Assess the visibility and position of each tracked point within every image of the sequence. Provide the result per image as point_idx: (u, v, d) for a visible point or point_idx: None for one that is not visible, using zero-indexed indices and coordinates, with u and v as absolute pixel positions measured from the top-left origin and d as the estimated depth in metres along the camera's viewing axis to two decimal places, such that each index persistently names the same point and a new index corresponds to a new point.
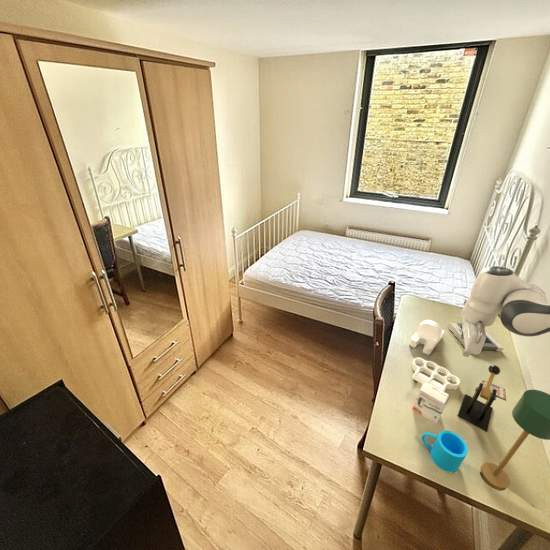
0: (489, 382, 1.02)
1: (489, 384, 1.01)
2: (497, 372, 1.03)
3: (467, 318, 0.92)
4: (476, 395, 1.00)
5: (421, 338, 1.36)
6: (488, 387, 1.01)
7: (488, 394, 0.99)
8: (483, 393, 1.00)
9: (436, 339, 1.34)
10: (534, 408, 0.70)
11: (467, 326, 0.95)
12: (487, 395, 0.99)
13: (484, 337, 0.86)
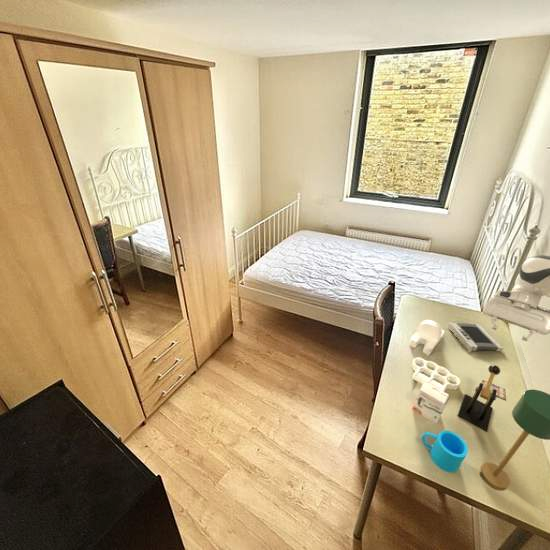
0: (489, 382, 1.02)
1: (489, 384, 1.01)
2: (497, 372, 1.03)
3: (534, 304, 1.05)
4: (476, 395, 1.00)
5: (421, 338, 1.36)
6: (488, 387, 1.01)
7: (488, 394, 0.99)
8: (483, 393, 1.00)
9: (436, 339, 1.34)
10: (534, 408, 0.70)
11: (521, 313, 1.07)
12: (487, 395, 0.99)
13: None
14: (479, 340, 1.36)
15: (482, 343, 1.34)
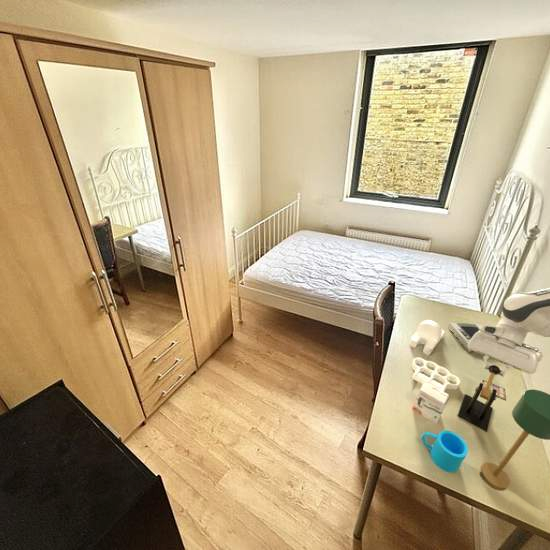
0: (489, 382, 1.02)
1: (489, 384, 1.01)
2: (497, 372, 1.03)
3: (519, 342, 1.01)
4: (476, 395, 1.00)
5: (421, 338, 1.36)
6: (488, 387, 1.01)
7: (488, 394, 0.99)
8: (483, 393, 1.00)
9: (436, 339, 1.34)
10: (534, 408, 0.70)
11: (506, 351, 1.03)
12: (487, 395, 0.99)
13: None
14: None
15: None
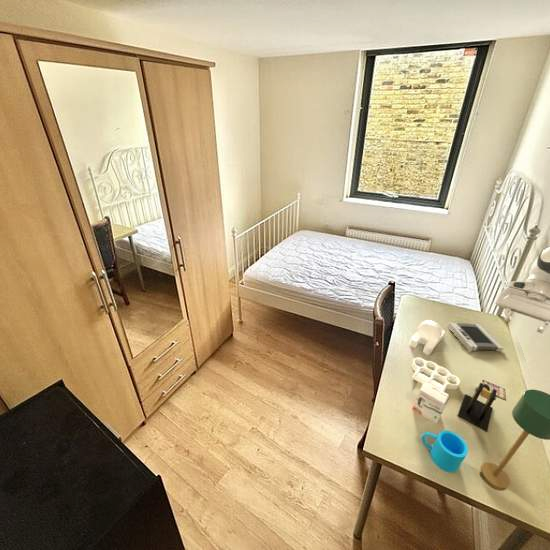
0: None
1: None
2: (488, 388, 1.07)
3: None
4: (476, 395, 1.00)
5: (421, 338, 1.36)
6: None
7: (489, 391, 1.00)
8: (484, 390, 1.00)
9: (436, 339, 1.34)
10: (534, 408, 0.70)
11: (536, 305, 1.03)
12: (488, 391, 0.99)
13: None
14: (479, 340, 1.36)
15: (482, 343, 1.34)
